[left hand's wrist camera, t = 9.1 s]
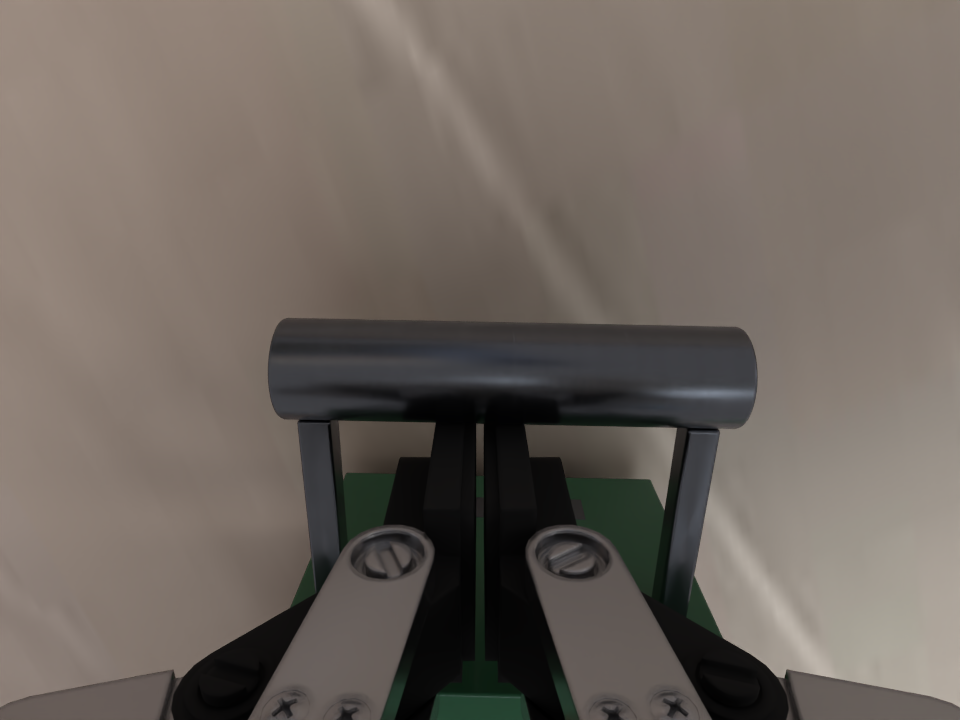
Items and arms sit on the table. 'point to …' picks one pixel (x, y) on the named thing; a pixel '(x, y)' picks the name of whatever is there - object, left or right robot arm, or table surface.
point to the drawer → (517, 400)
